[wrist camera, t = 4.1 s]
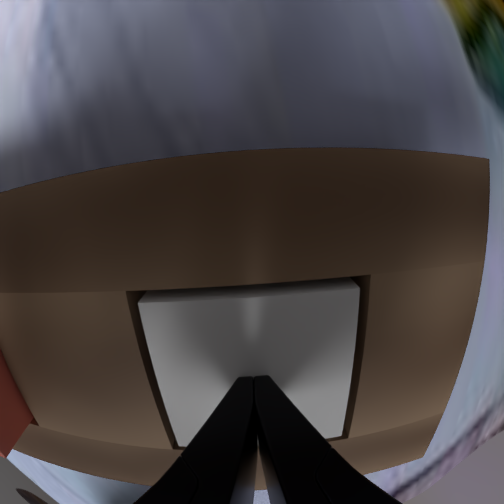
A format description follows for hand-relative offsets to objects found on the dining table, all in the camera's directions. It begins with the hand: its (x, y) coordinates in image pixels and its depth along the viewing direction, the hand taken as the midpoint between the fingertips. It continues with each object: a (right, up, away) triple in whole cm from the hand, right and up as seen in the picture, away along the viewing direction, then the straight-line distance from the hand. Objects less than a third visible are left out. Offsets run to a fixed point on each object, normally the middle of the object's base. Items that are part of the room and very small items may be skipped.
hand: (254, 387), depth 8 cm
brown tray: (-6, +1, +5) cm, 8 cm away
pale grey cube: (0, +1, +3) cm, 4 cm away
